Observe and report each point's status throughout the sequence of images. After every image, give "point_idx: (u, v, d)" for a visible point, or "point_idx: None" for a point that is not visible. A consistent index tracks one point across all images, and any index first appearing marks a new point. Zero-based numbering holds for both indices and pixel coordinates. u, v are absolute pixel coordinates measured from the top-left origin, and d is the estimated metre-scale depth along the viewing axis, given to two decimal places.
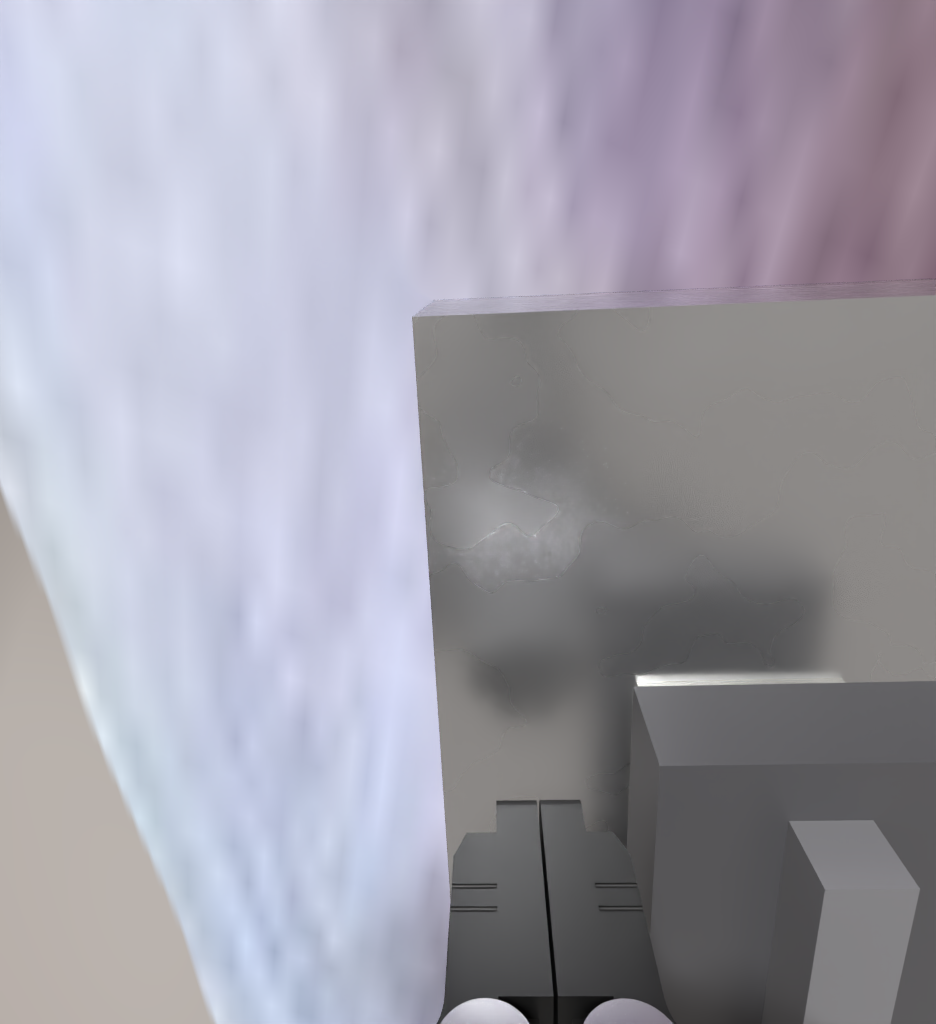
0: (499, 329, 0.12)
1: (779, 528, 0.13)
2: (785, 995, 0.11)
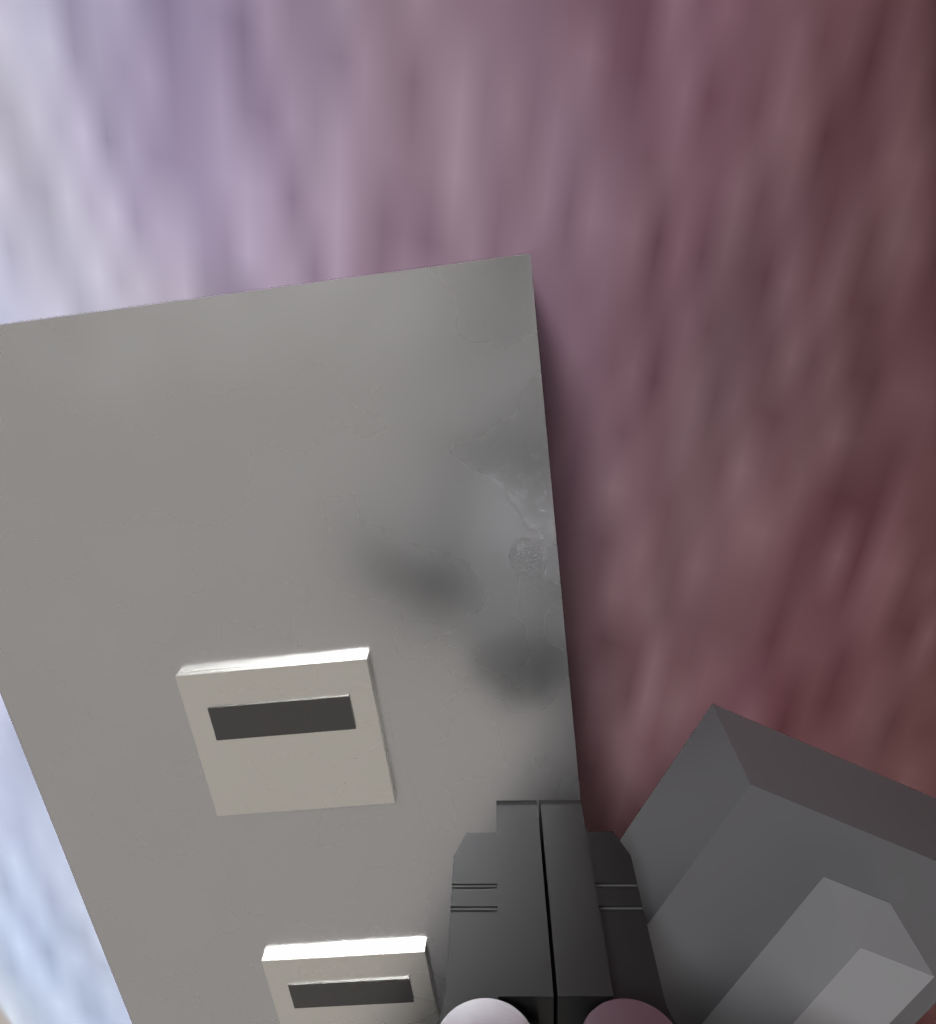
0: None
1: (261, 515, 0.14)
2: None
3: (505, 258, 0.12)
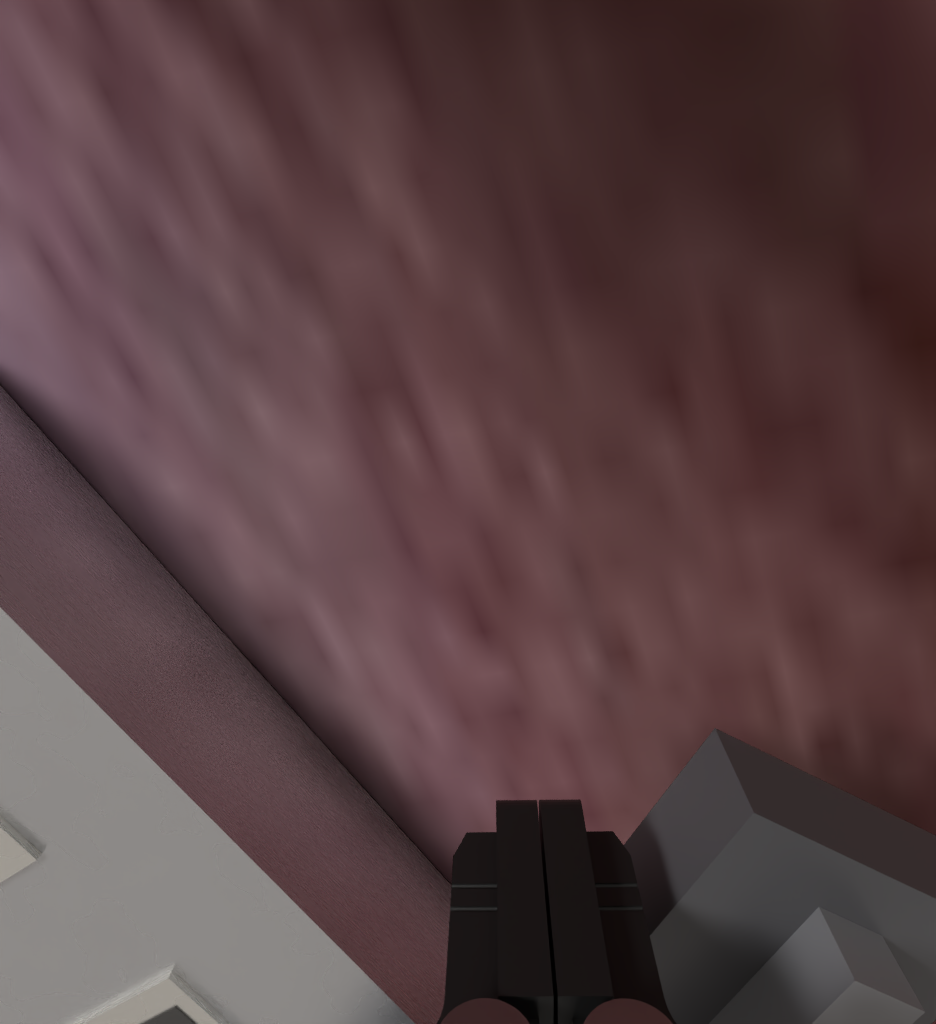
0: None
1: None
2: None
3: None
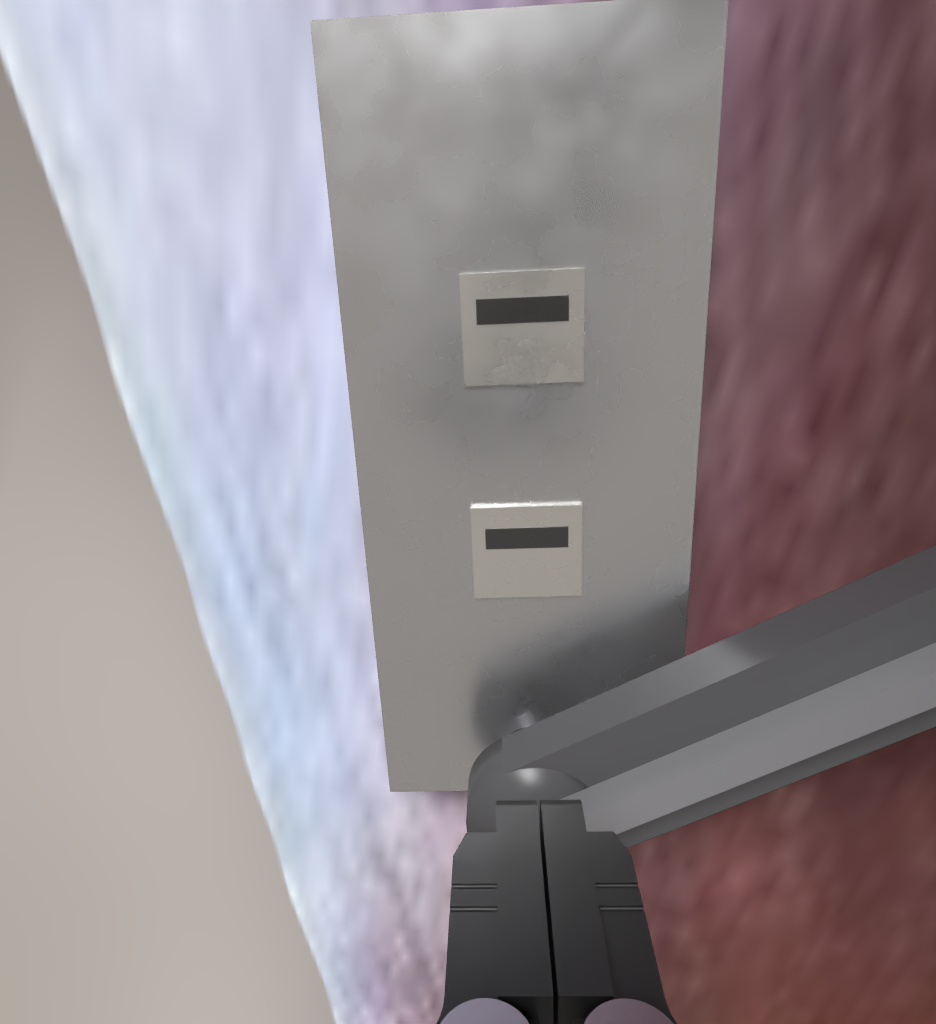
0: (360, 27, 0.21)
1: (534, 161, 0.22)
2: None
3: None
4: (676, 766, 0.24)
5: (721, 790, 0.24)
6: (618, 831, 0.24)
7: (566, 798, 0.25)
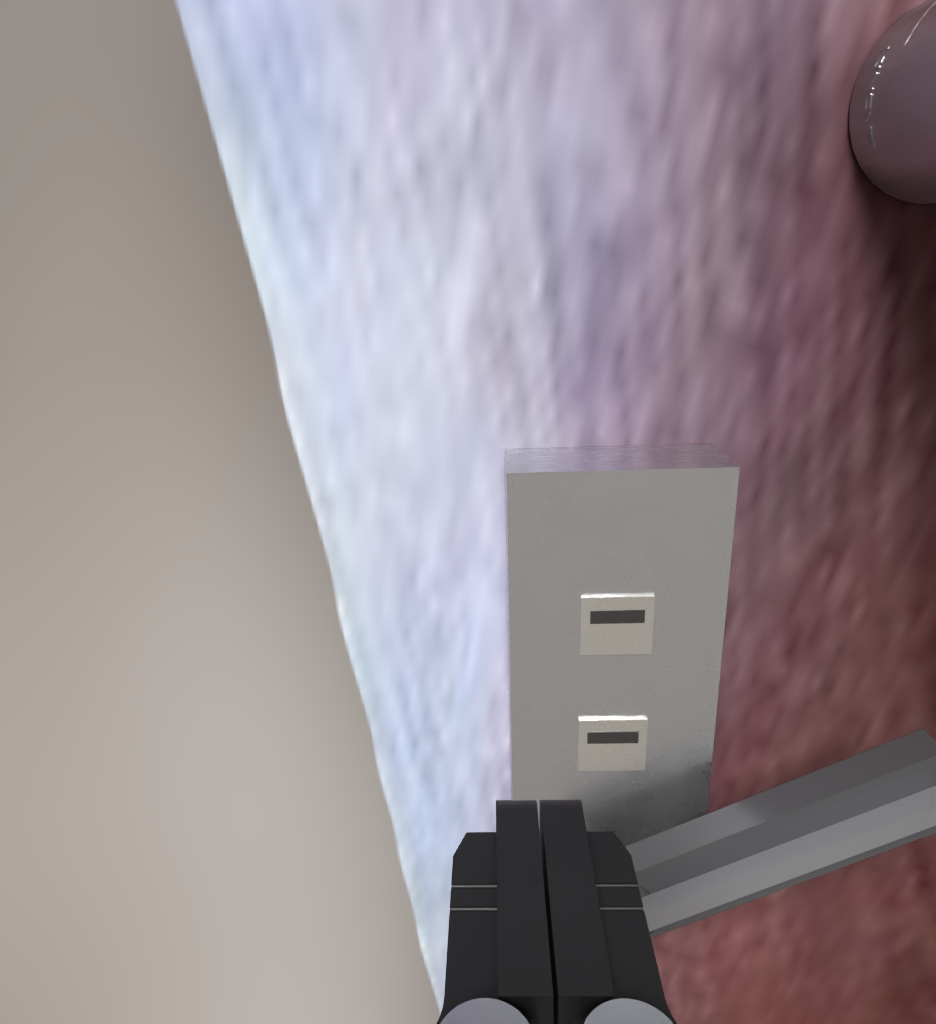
0: (534, 477, 0.38)
1: (628, 542, 0.39)
2: (893, 812, 0.38)
3: (731, 467, 0.37)
4: (705, 884, 0.40)
5: (732, 899, 0.40)
6: (670, 922, 0.41)
7: None
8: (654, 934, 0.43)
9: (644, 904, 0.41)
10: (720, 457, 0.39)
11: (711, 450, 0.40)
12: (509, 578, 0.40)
